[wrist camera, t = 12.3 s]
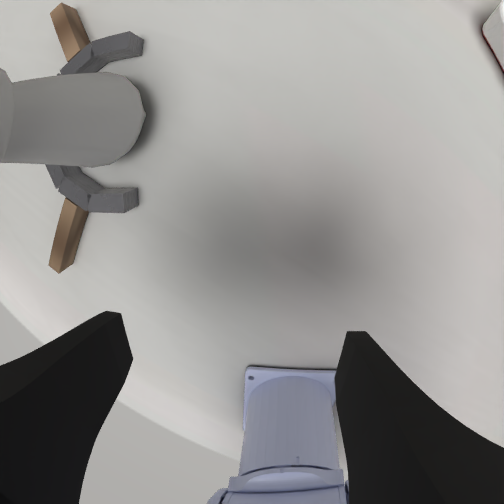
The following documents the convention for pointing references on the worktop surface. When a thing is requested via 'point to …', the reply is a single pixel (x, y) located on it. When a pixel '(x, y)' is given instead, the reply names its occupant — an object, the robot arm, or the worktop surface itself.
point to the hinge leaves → (71, 214)
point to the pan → (496, 33)
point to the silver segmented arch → (71, 177)
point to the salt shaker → (69, 119)
